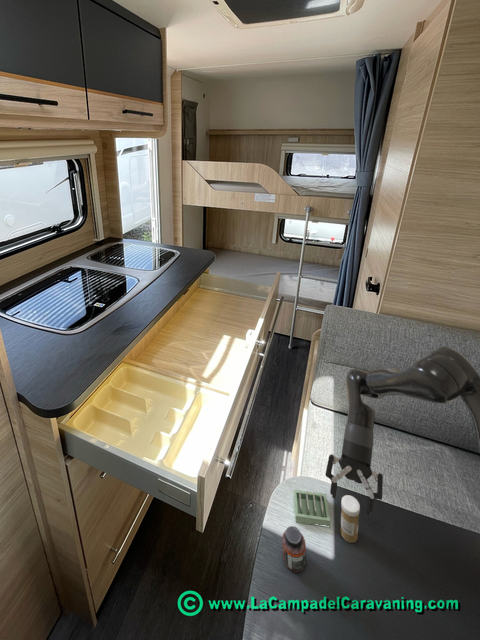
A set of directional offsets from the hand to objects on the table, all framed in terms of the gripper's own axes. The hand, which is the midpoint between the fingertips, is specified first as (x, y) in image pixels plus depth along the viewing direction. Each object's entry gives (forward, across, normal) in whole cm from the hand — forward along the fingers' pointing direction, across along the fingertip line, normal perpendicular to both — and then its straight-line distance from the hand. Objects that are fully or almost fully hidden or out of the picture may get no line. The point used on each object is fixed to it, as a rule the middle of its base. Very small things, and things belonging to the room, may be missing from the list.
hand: (350, 505), depth 89 cm
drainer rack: (+8, -11, +8) cm, 15 cm away
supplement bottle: (+18, -12, -2) cm, 21 cm away
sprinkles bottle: (+9, 0, +8) cm, 11 cm away
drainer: (+8, -11, +8) cm, 15 cm away
